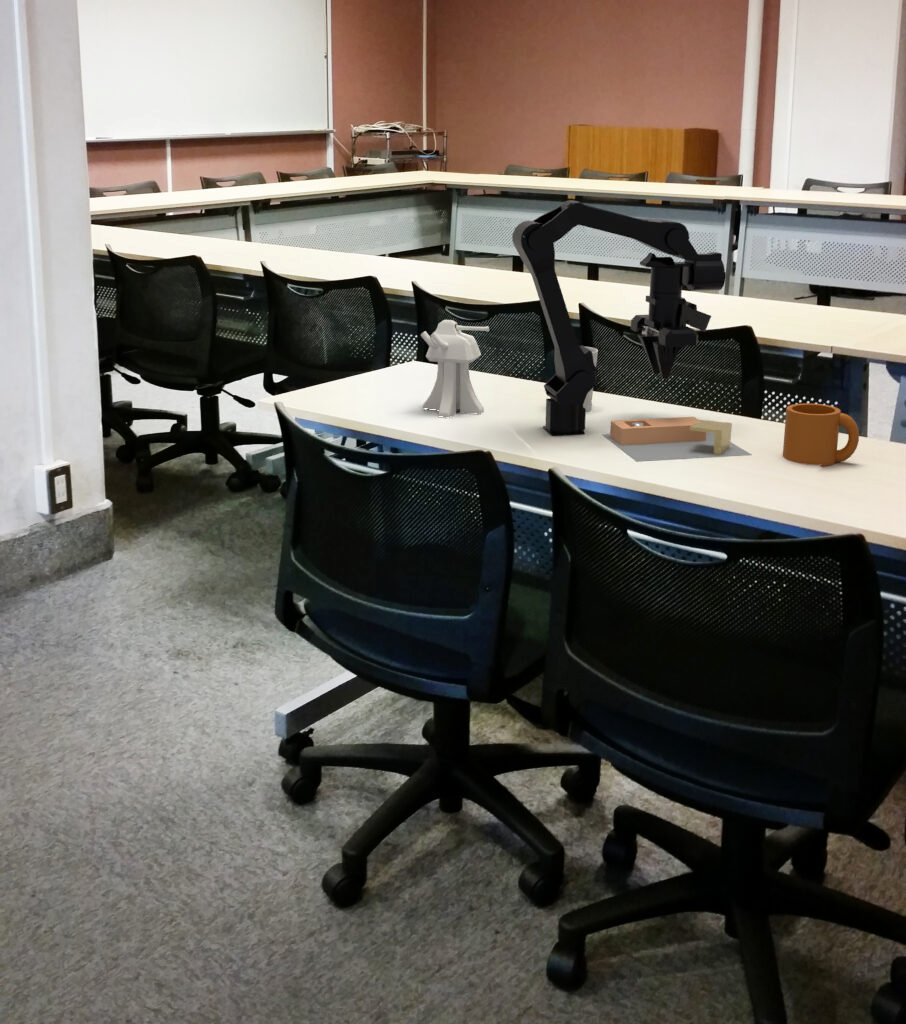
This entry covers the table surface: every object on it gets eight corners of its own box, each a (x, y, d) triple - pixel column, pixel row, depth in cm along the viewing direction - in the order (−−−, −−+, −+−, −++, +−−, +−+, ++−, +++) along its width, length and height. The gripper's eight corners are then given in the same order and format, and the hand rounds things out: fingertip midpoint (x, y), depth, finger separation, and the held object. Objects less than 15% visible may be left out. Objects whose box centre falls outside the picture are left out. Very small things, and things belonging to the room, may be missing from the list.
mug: (846, 473, 197) (851, 420, 194) (775, 462, 203) (778, 411, 201) (861, 459, 204) (866, 408, 201) (792, 450, 211) (796, 400, 208)
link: (621, 445, 212) (621, 428, 211) (610, 436, 217) (610, 420, 216) (705, 440, 215) (706, 424, 214) (692, 432, 220) (693, 416, 220)
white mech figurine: (478, 420, 231) (479, 327, 225) (414, 415, 235) (413, 323, 229) (496, 407, 241) (497, 318, 236) (434, 402, 245) (434, 314, 240)
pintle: (633, 441, 214) (634, 425, 213) (629, 438, 216) (630, 422, 215) (644, 440, 215) (644, 424, 214) (640, 438, 216) (640, 422, 215)
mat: (636, 463, 202) (636, 461, 202) (601, 436, 219) (601, 434, 219) (751, 457, 206) (752, 454, 206) (708, 430, 223) (708, 428, 223)
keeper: (688, 451, 208) (689, 426, 207) (698, 443, 213) (700, 419, 212) (720, 455, 206) (722, 430, 204) (729, 447, 211) (731, 423, 209)
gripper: (728, 297, 210) (722, 384, 215) (687, 283, 227) (682, 364, 232) (668, 299, 208) (663, 387, 213) (631, 285, 225) (627, 367, 230)
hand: (660, 376), depth 222 cm, fingers open, 4 cm apart
